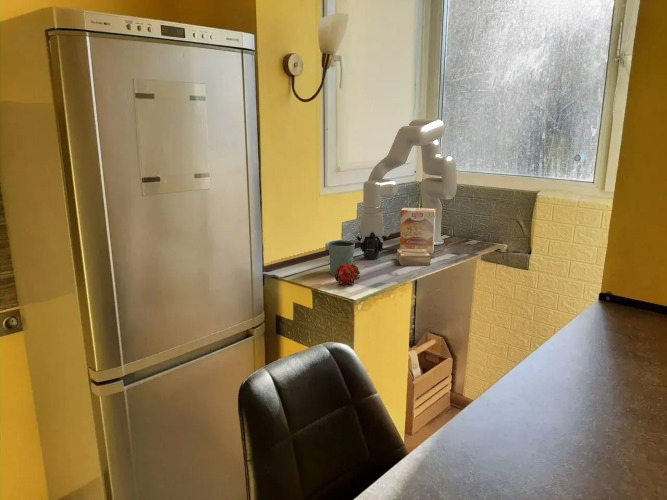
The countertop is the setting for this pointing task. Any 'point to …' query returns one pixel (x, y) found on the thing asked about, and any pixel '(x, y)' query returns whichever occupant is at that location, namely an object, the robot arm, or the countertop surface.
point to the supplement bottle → (371, 247)
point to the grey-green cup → (340, 254)
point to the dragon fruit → (347, 274)
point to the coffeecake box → (417, 229)
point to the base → (413, 257)
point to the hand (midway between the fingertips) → (371, 250)
